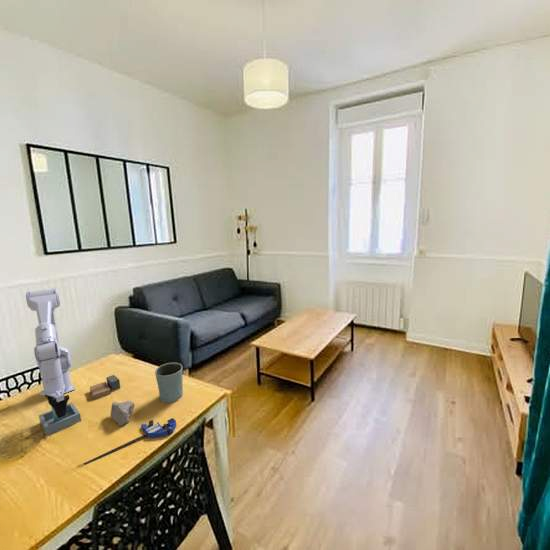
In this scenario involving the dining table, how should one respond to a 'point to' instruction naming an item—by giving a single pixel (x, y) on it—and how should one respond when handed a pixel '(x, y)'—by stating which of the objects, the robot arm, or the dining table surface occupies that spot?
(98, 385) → the tan cardboard box
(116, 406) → the stone
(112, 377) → the dark grey block
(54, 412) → the dowel
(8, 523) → the dining table surface
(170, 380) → the grey green cup
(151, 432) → the bar clamp
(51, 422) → the tray
